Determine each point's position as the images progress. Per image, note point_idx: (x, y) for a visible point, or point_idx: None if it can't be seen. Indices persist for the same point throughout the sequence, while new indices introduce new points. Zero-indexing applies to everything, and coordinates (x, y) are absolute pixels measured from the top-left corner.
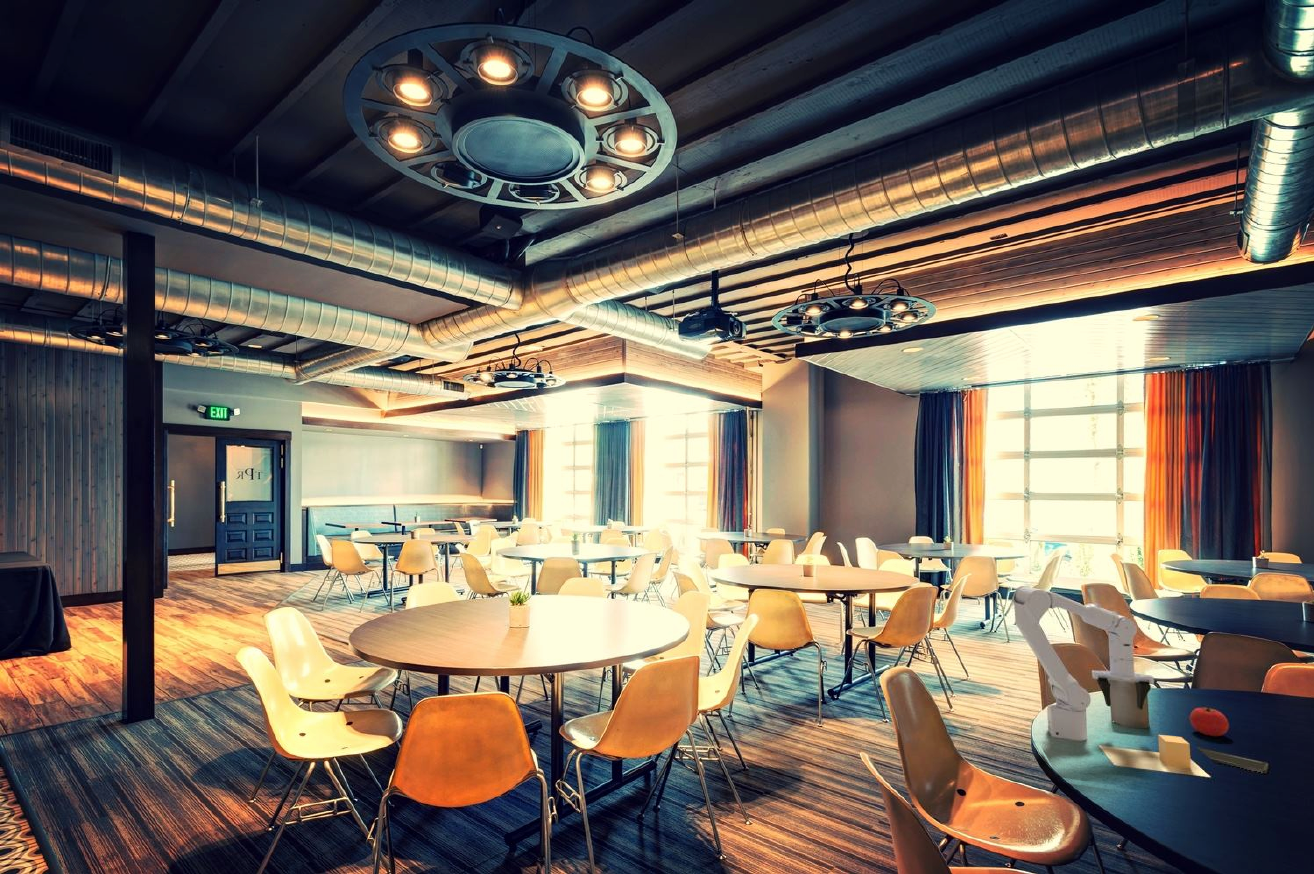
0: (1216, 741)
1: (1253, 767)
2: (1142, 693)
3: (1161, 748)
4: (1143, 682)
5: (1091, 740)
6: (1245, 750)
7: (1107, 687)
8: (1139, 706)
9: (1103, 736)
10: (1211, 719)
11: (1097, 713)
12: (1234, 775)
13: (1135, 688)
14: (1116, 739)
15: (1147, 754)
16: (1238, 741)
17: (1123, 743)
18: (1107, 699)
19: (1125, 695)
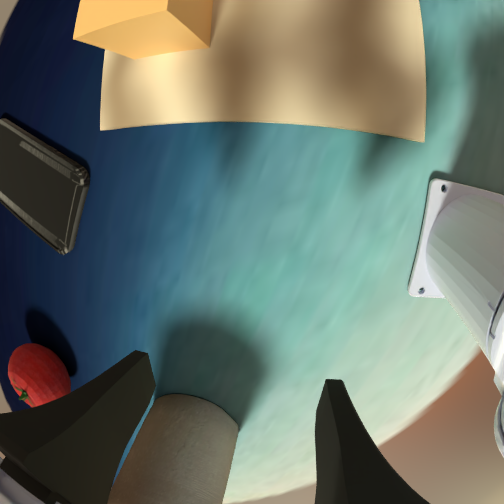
0: (42, 322)
1: (4, 134)
2: (67, 416)
3: (194, 1)
4: (27, 483)
5: (403, 249)
6: (8, 275)
7: (373, 499)
8: (140, 365)
9: (331, 310)
10: (21, 364)
11: (256, 459)
12: (50, 56)
13: (140, 493)
14: (293, 289)
15: (244, 75)
16: (21, 326)
17: (283, 247)
18: (354, 412)
19: (182, 481)
